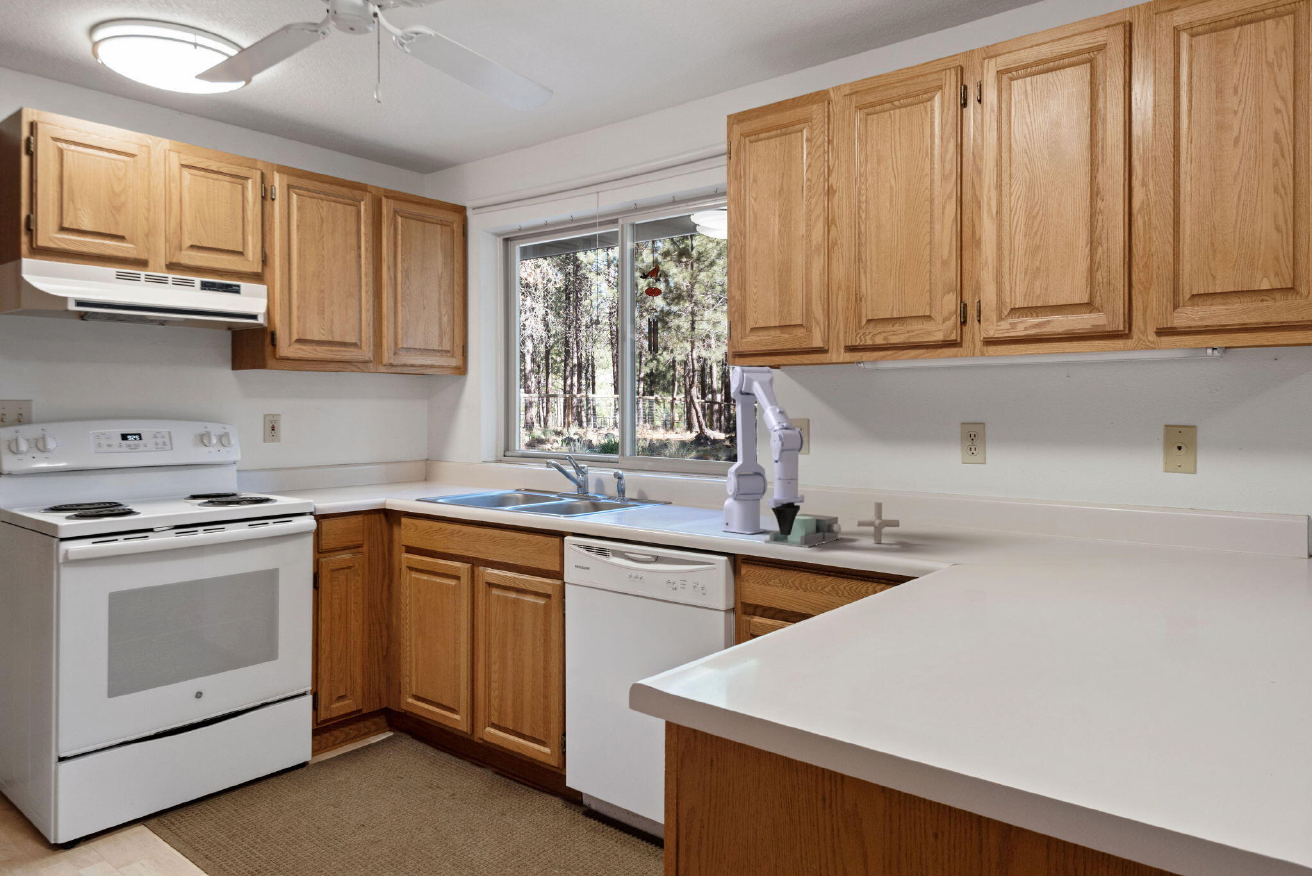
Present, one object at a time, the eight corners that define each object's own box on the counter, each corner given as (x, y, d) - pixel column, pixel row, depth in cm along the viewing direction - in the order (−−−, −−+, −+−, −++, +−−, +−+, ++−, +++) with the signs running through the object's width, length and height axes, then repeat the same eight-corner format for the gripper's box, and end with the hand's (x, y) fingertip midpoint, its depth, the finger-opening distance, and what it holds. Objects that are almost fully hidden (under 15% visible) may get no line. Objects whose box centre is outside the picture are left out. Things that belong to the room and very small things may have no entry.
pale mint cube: (787, 539, 205) (787, 517, 205) (798, 537, 209) (798, 515, 209) (805, 541, 202) (805, 519, 202) (815, 539, 206) (815, 517, 206)
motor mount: (764, 542, 204) (764, 520, 204) (800, 533, 218) (800, 513, 218) (811, 548, 196) (811, 525, 196) (845, 539, 210) (846, 517, 210)
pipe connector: (894, 540, 208) (895, 500, 208) (902, 547, 198) (903, 505, 198) (854, 539, 209) (854, 500, 209) (859, 546, 199) (860, 504, 199)
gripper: (785, 482, 192) (784, 540, 192) (815, 477, 203) (814, 532, 203) (759, 480, 196) (758, 537, 197) (790, 476, 207) (789, 530, 208)
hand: (785, 534), depth 200 cm, fingers closed
